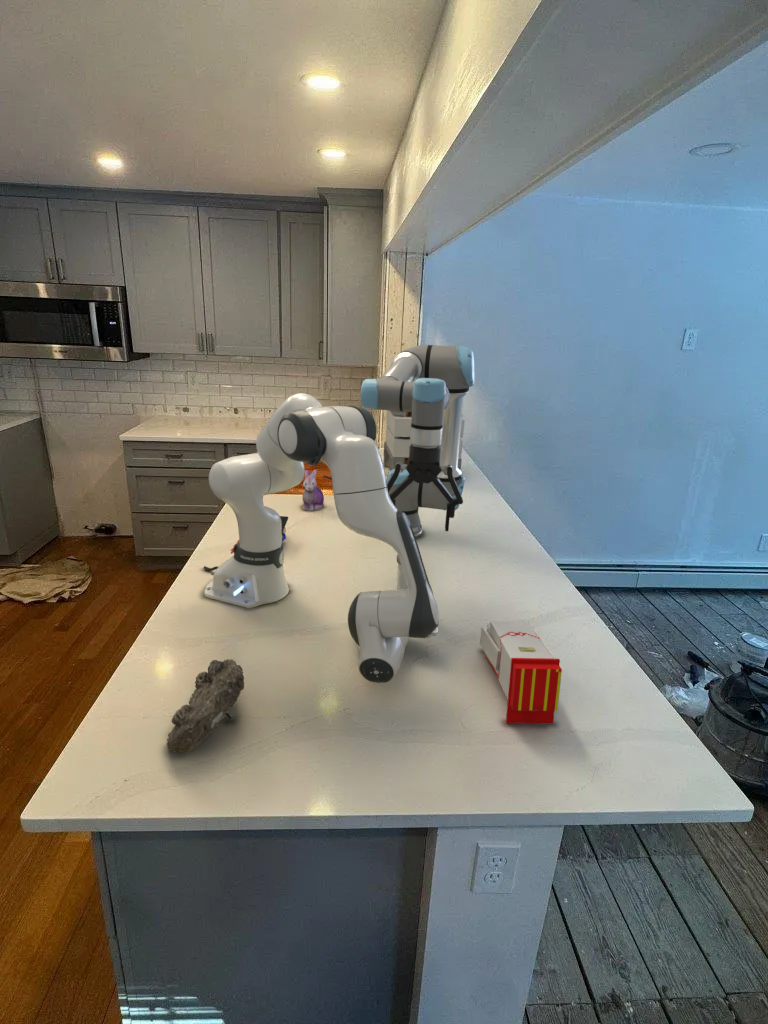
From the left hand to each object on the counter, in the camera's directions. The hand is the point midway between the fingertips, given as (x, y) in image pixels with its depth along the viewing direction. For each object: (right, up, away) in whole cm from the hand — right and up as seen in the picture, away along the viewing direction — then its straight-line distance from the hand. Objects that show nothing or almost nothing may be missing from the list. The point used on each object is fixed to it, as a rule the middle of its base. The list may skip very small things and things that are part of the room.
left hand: (400, 601), depth 141 cm
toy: (+24, -14, -18) cm, 33 cm away
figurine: (-32, +24, +81) cm, 91 cm away
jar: (+1, -4, +9) cm, 9 cm away
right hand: (+5, +18, +2) cm, 19 cm away
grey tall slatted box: (+13, +41, +134) cm, 141 cm away
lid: (+2, +11, +3) cm, 12 cm away
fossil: (-37, -17, -32) cm, 52 cm away
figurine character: (-40, +12, +47) cm, 62 cm away
